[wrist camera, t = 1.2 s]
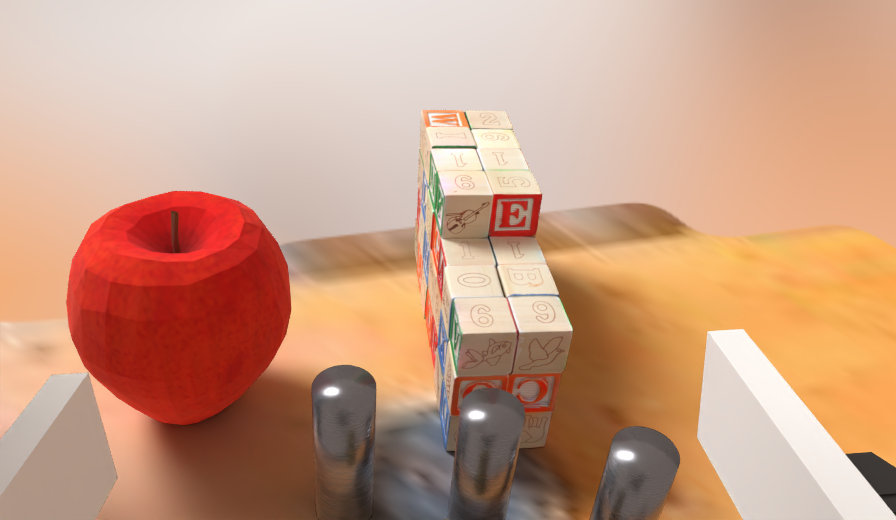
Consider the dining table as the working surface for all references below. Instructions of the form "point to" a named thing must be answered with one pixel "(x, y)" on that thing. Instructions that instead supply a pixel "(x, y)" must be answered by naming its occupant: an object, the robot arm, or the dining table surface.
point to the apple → (178, 303)
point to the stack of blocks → (486, 271)
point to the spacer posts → (470, 455)
